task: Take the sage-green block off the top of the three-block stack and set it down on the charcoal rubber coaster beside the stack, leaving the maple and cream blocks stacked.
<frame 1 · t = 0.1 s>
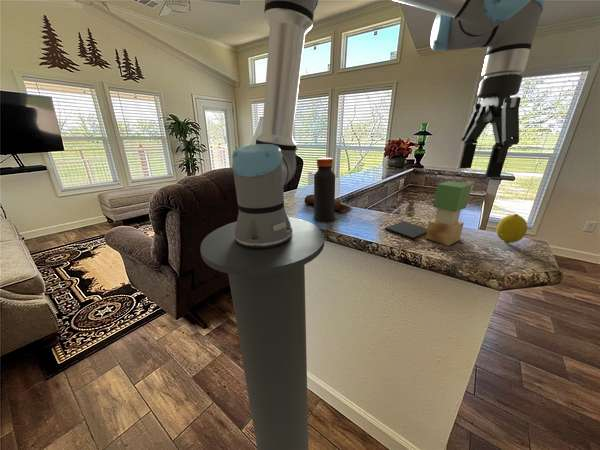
hand: (477, 172, 61), 17 cm above the countertop, tool pointing down, fingers open, 13 cm apart
cream block: (446, 221, 62), point 5 cm above the countertop, touching green block, maple block
lemon: (506, 244, 60), on the countertop
green block: (449, 207, 60), point 9 cm above the countertop, touching cream block
bottle: (324, 219, 81), on the countertop
coaster: (407, 230, 70), on the countertop
maple block: (442, 238, 64), on the countertop, touching cream block
sunglasses case: (327, 206, 94), on the countertop
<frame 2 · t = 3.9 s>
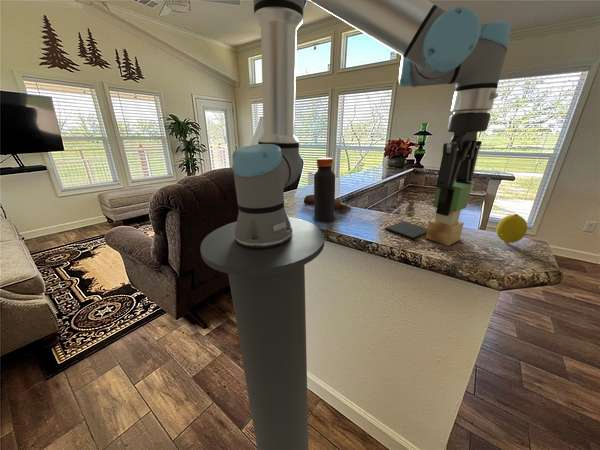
hand: (448, 211, 61), 8 cm above the countertop, tool pointing down, fingers closed on green block, 5 cm apart
green block: (449, 207, 60), point 9 cm above the countertop, touching cream block, gripper
everything else where it was.
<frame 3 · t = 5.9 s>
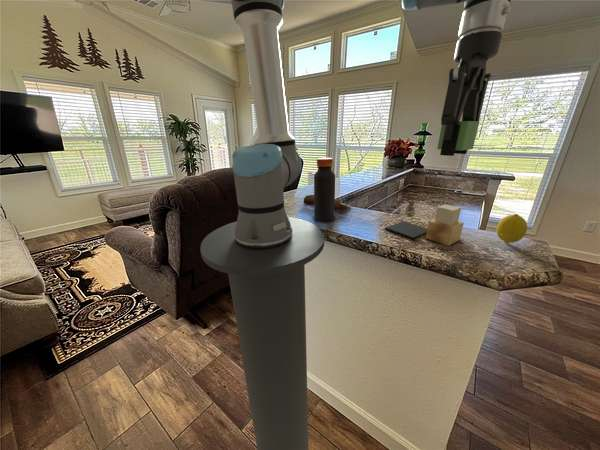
hand: (453, 154, 56), 22 cm above the countertop, tool pointing down, fingers closed on green block, 5 cm apart
cream block: (446, 221, 62), point 5 cm above the countertop, touching maple block
green block: (454, 149, 56), point 23 cm above the countertop, touching gripper
everything else where it was.
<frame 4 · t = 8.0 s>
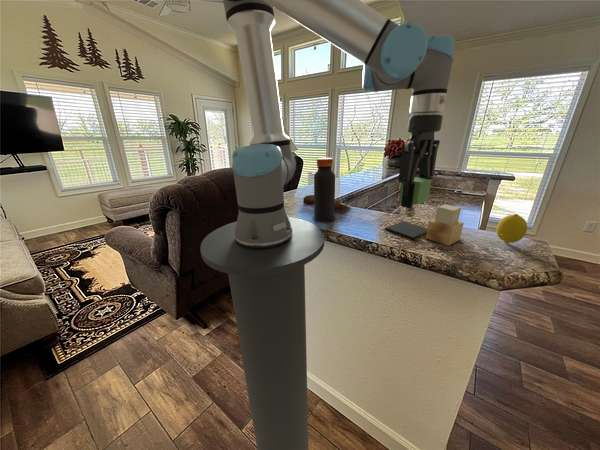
hand: (412, 204, 67), 8 cm above the countertop, tool pointing down, fingers closed on green block, 5 cm apart
green block: (413, 200, 66), point 9 cm above the countertop, touching gripper
everything else where it was.
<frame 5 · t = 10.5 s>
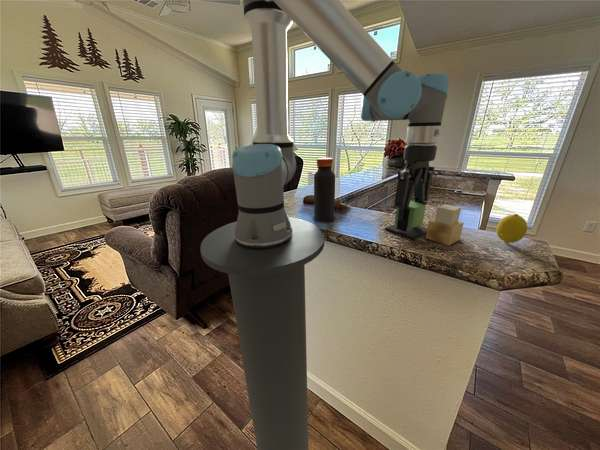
hand: (407, 227, 69), 1 cm above the countertop, tool pointing down, fingers closed on green block, 5 cm apart
green block: (408, 223, 69), point 2 cm above the countertop, touching gripper
everything else where it was.
when the fingers open (1 cm above the countertop, at t = 12.1 s): green block drops 2 cm, resting on coaster.
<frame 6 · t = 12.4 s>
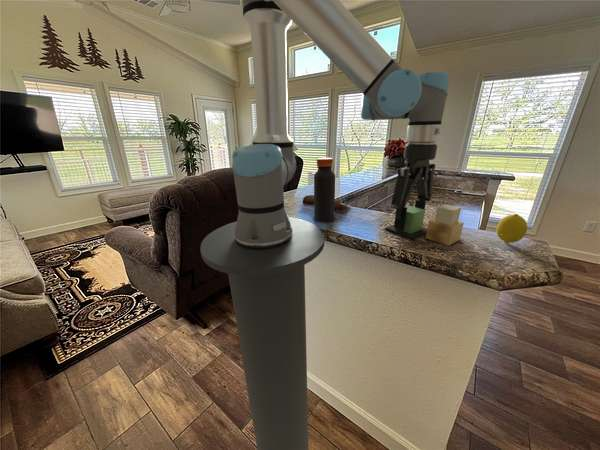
hand: (408, 224, 69), 2 cm above the countertop, tool pointing down, fingers open, 8 cm apart
green block: (407, 228, 69), point 1 cm above the countertop, touching coaster
everything else where it was.
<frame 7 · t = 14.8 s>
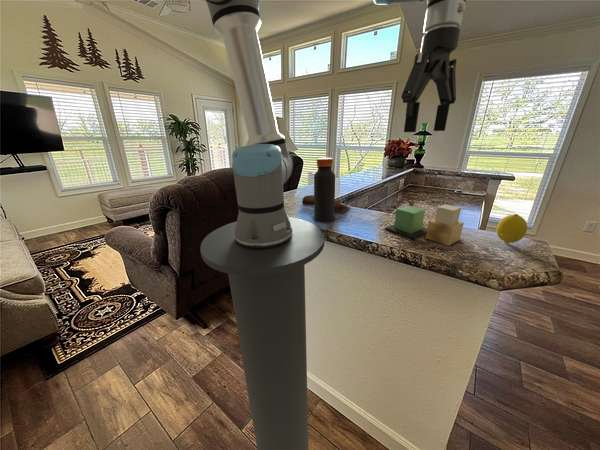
hand: (425, 131, 61), 27 cm above the countertop, tool pointing down, fingers open, 13 cm apart
nothing on the countertop moved.
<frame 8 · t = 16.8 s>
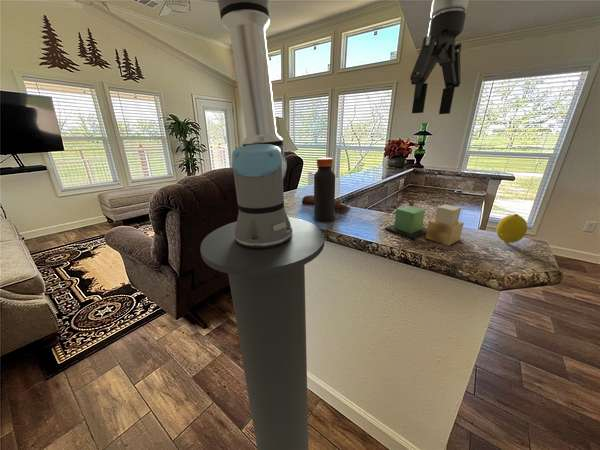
hand: (431, 113, 64), 32 cm above the countertop, tool pointing down, fingers open, 13 cm apart
at the end: green block inside the target area (0.0 cm from its centre), point 0.6 cm above the countertop; green block tilted 0°; cream block 0.0 cm off-centre on the maple block, point 5.0 cm above the maple block's base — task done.
